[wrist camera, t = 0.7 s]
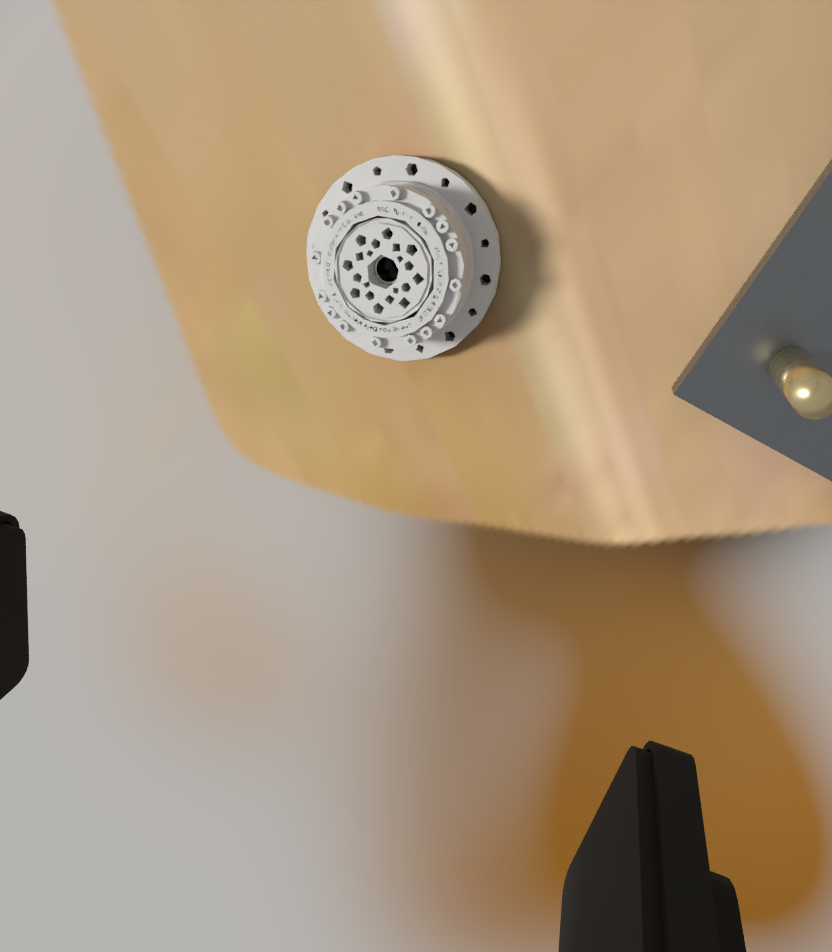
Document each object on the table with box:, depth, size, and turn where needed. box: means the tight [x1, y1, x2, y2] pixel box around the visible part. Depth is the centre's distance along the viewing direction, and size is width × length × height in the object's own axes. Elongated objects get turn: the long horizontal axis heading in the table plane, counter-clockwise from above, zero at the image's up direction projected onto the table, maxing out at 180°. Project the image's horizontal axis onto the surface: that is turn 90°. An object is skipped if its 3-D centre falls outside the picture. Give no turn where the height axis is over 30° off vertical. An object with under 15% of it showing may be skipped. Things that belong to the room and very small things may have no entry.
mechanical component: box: [307, 155, 501, 361], centre depth 36 cm, size 10×4×10 cm
